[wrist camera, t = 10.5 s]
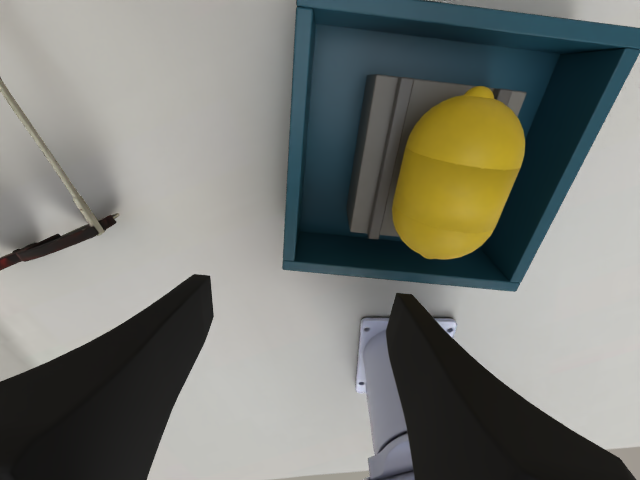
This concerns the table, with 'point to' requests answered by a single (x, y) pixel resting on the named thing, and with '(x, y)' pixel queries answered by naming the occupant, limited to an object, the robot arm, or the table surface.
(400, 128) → the grey block
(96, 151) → the table surface
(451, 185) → the lemon
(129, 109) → the table surface
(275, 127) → the table surface
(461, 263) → the crate
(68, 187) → the sunglasses
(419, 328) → the robot arm
